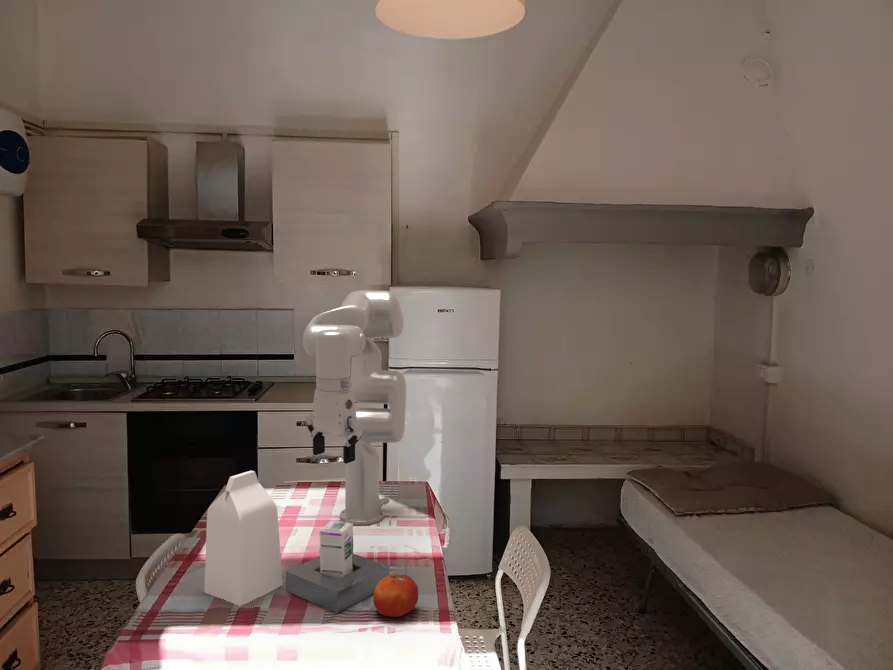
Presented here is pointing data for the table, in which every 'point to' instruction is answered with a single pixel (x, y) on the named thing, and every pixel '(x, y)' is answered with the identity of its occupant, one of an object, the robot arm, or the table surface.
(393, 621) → the table surface
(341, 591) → the bore block
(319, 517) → the table surface
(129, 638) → the table surface
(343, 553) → the syrup box
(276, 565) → the milk
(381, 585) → the tomato
